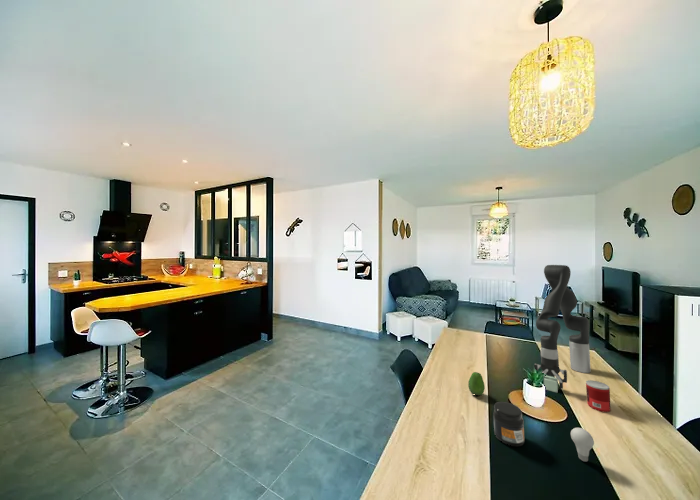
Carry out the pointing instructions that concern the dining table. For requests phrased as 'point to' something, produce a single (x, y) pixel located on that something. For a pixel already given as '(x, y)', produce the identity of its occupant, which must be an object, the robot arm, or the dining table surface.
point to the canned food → (598, 396)
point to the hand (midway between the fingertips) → (551, 386)
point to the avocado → (476, 384)
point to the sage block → (551, 383)
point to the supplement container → (508, 424)
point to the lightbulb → (582, 442)
